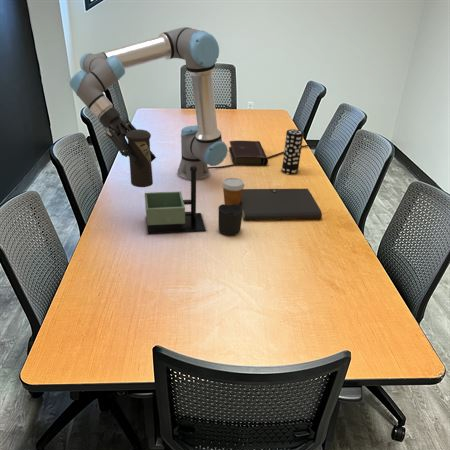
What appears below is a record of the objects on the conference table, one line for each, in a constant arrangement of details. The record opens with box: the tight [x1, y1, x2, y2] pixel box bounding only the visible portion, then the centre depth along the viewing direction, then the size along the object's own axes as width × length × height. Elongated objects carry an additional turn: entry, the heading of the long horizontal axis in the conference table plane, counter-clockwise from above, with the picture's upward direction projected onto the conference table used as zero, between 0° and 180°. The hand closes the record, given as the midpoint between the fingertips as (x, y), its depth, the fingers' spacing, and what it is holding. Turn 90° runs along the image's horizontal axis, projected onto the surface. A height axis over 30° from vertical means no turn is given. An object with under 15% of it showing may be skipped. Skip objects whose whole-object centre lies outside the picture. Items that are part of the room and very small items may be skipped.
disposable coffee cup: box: [221, 177, 245, 205], centre depth 196 cm, size 10×10×12 cm
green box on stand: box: [144, 165, 207, 235], centre depth 178 cm, size 23×15×24 cm, turn 101°
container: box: [125, 128, 154, 188], centre depth 172 cm, size 9×9×20 cm
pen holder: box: [218, 203, 243, 237], centre depth 180 cm, size 9×9×10 cm
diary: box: [228, 140, 269, 167], centre depth 247 cm, size 19×25×5 cm
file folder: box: [240, 188, 323, 221], centre depth 200 cm, size 33×4×24 cm
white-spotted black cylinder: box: [281, 128, 305, 176], centre depth 229 cm, size 8×8×20 cm
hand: (148, 163), depth 172 cm, fingers closed on container, 8 cm apart
